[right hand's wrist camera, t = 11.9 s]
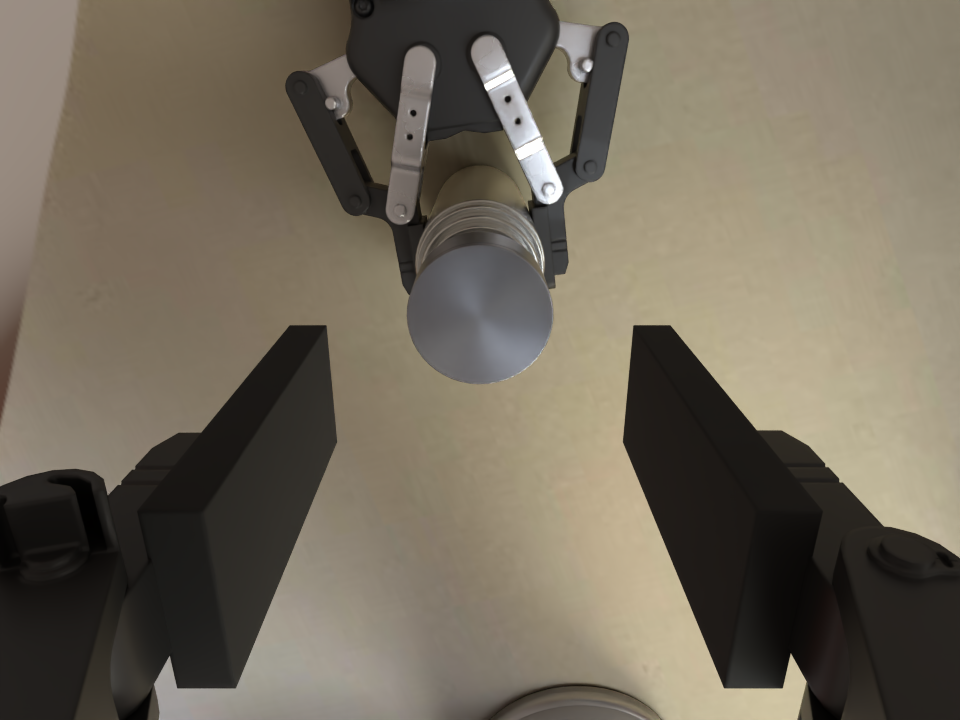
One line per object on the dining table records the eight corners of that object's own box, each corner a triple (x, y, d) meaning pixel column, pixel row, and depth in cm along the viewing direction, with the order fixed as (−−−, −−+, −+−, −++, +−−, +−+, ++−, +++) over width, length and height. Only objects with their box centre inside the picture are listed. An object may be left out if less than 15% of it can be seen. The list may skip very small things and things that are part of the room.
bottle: (442, 258, 36) (410, 396, 20) (430, 170, 34) (384, 240, 18) (527, 249, 36) (568, 380, 19) (519, 160, 34) (557, 221, 18)
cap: (423, 366, 21) (418, 391, 19) (403, 239, 19) (396, 253, 18) (551, 353, 21) (558, 377, 19) (541, 223, 19) (548, 236, 18)
